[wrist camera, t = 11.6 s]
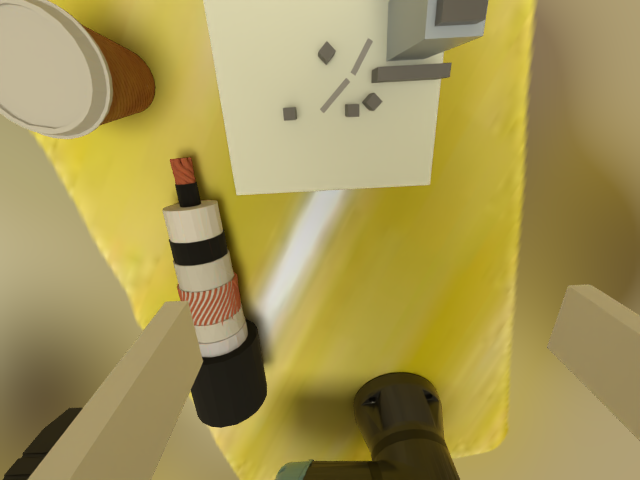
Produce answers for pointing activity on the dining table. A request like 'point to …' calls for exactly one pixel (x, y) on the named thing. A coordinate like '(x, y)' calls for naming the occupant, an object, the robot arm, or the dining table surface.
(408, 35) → the block
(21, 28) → the disposable coffee cup
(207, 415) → the cable
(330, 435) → the dining table surface
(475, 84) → the dining table surface
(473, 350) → the dining table surface
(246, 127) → the routing panel
